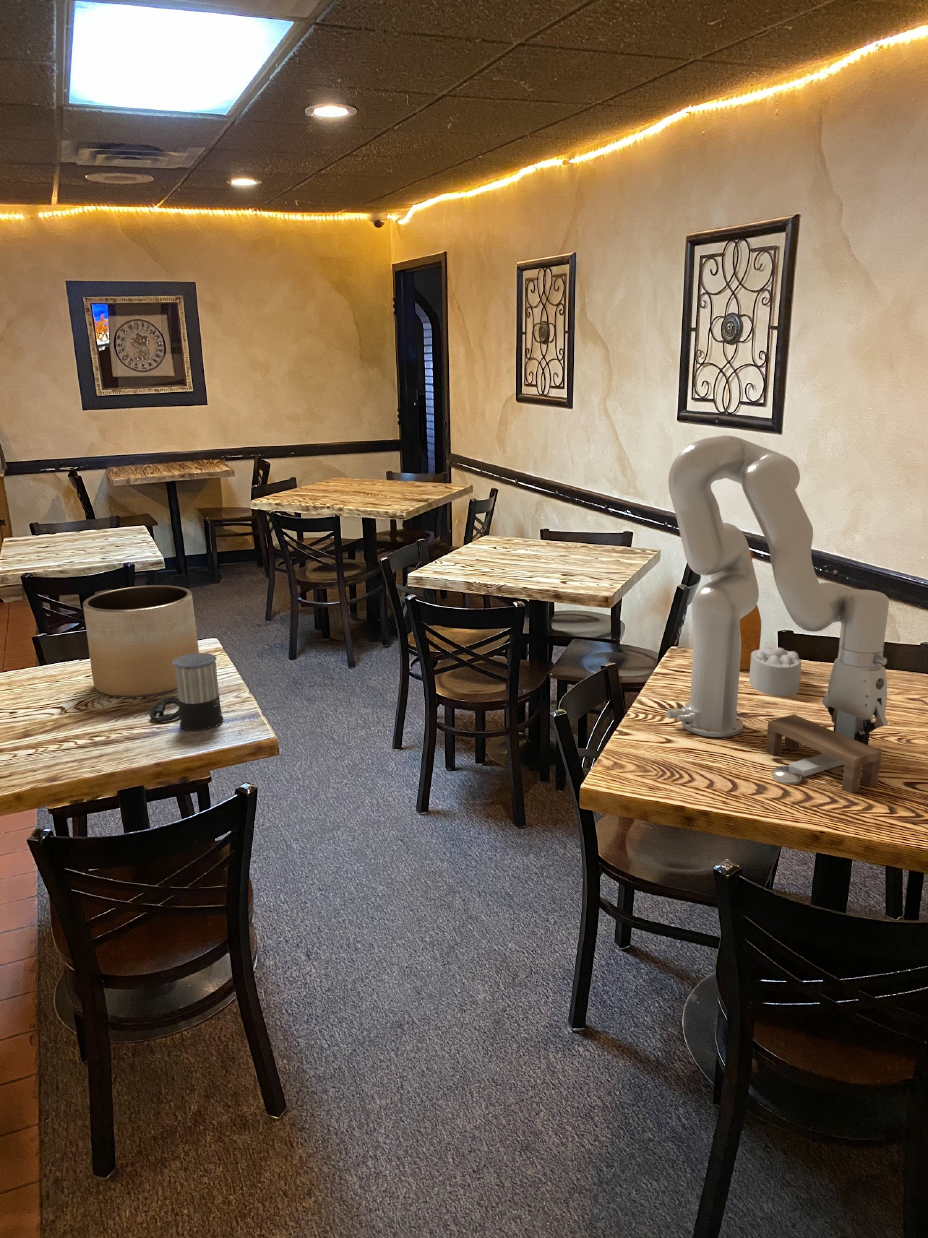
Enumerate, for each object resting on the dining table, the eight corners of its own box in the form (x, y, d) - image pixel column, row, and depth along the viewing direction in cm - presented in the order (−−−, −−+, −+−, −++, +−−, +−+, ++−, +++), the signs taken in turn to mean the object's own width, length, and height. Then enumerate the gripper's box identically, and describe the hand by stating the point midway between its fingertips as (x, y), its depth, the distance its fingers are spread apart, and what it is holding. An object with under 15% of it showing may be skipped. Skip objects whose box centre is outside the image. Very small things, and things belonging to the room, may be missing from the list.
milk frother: (223, 728, 187) (216, 663, 183) (146, 737, 183) (137, 671, 179) (223, 705, 200) (217, 644, 196) (151, 713, 196) (143, 651, 192)
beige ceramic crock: (101, 671, 224) (89, 589, 218) (202, 661, 231) (194, 581, 225) (87, 706, 201) (73, 615, 195) (200, 694, 207) (191, 605, 201)
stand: (851, 793, 153) (854, 759, 151) (765, 751, 170) (768, 721, 168) (877, 784, 156) (882, 751, 154) (791, 744, 173) (794, 714, 171)
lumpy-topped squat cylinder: (788, 677, 211) (791, 643, 208) (806, 696, 198) (810, 661, 196) (745, 677, 211) (747, 644, 209) (761, 697, 199) (763, 661, 196)
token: (794, 788, 156) (795, 780, 156) (768, 780, 159) (768, 772, 159) (805, 778, 159) (806, 771, 159) (779, 770, 163) (780, 763, 162)
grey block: (846, 751, 169) (852, 703, 166) (864, 758, 166) (870, 710, 163) (787, 768, 162) (792, 719, 159) (804, 777, 159) (809, 727, 156)
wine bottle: (750, 658, 224) (758, 545, 216) (764, 671, 215) (773, 553, 207) (712, 659, 224) (720, 546, 216) (725, 672, 215) (733, 554, 206)
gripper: (913, 666, 155) (901, 759, 160) (836, 641, 170) (827, 727, 175) (885, 673, 152) (873, 767, 157) (809, 647, 166) (801, 735, 171)
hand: (849, 745), depth 166 cm, fingers closed on grey block, 4 cm apart
